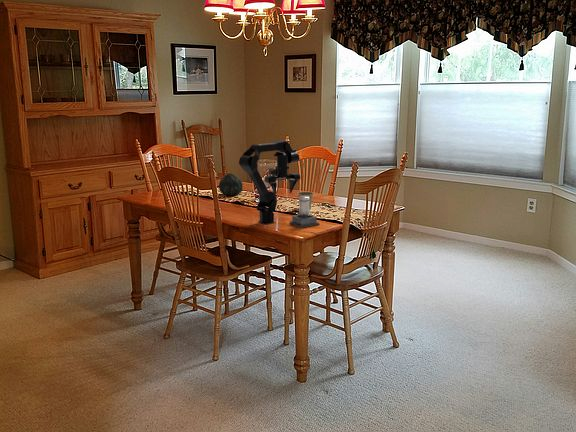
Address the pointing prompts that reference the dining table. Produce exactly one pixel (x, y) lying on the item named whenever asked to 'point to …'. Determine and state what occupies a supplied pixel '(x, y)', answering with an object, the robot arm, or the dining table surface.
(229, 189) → the squash
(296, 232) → the dining table surface
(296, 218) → the grey square tray
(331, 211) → the dining table surface
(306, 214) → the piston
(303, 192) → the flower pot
